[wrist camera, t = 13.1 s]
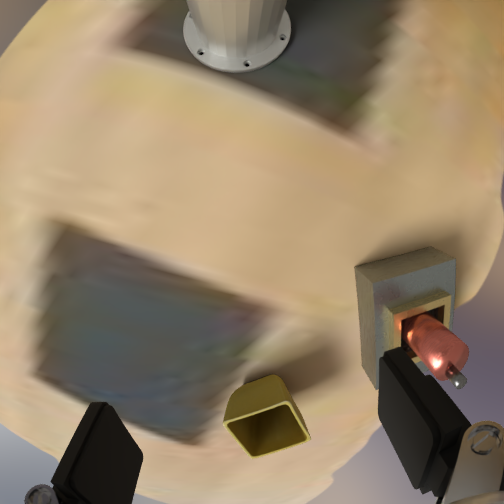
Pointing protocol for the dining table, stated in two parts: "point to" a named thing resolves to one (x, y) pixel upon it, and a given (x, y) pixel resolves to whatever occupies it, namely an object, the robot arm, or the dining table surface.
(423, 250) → the grey box with hole
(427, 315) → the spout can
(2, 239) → the dining table surface
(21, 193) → the dining table surface
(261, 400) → the flower pot
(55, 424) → the dining table surface
